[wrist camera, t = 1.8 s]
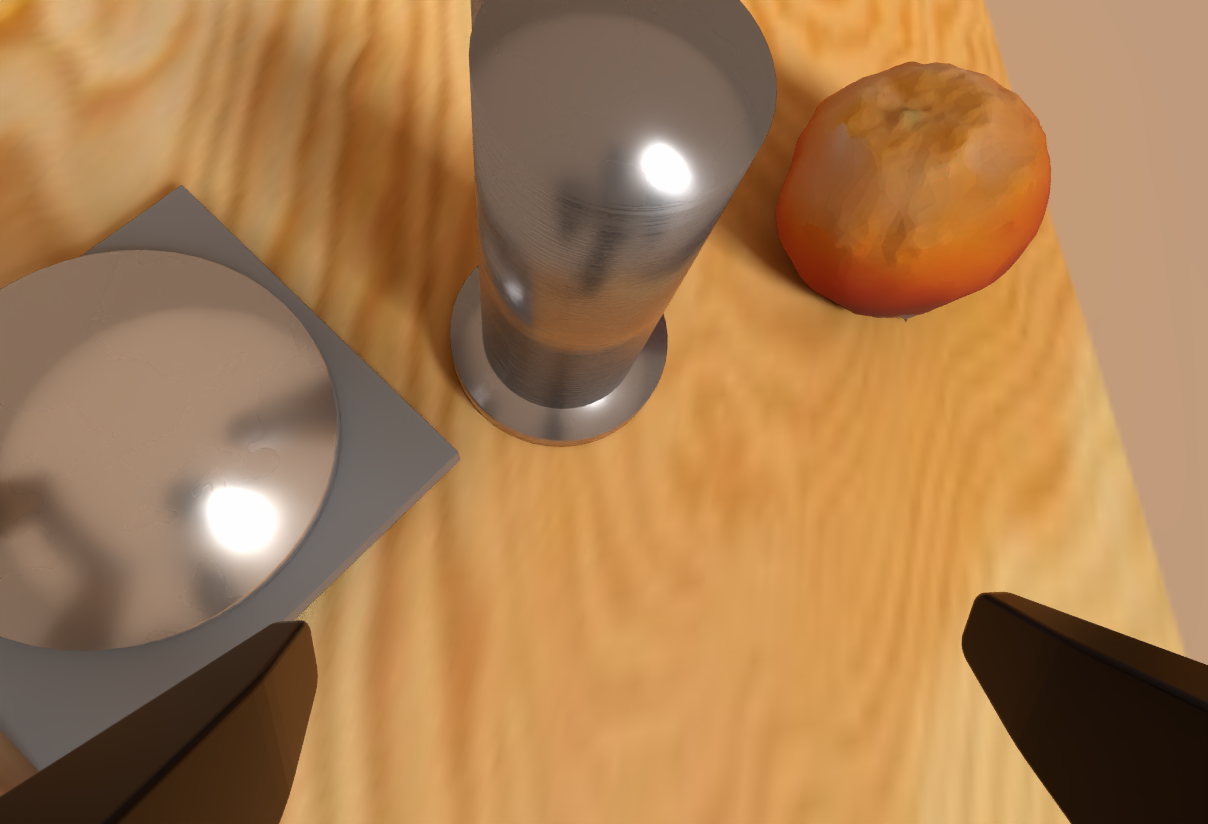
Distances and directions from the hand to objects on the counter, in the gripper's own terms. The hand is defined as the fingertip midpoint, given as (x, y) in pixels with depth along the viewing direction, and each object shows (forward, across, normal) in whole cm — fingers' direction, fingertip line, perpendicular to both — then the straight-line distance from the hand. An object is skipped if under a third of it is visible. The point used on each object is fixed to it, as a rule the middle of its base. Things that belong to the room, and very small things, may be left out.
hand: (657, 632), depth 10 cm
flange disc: (+12, -12, -3) cm, 17 cm away
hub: (+15, -1, -2) cm, 15 cm away
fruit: (+19, +11, +1) cm, 21 cm away
